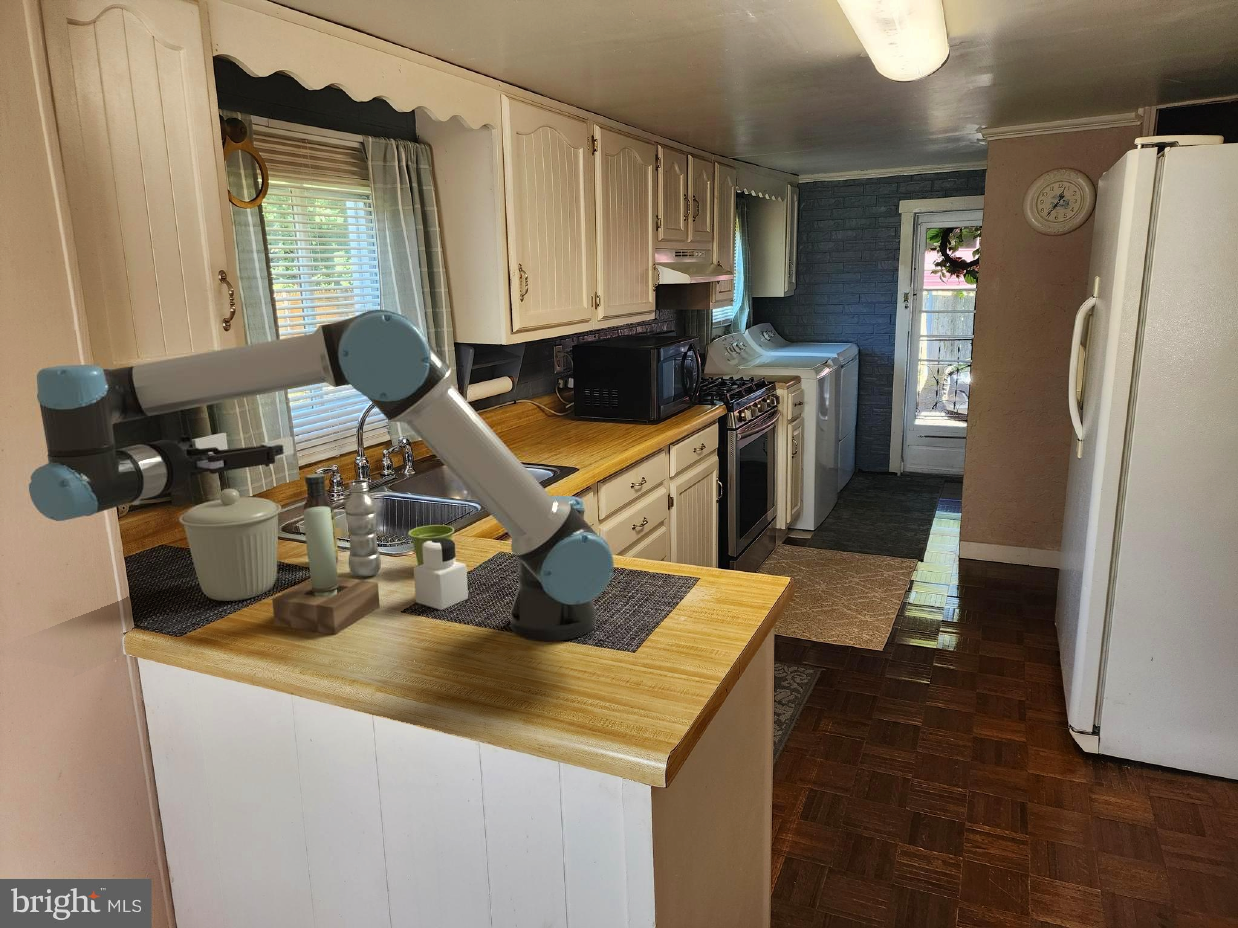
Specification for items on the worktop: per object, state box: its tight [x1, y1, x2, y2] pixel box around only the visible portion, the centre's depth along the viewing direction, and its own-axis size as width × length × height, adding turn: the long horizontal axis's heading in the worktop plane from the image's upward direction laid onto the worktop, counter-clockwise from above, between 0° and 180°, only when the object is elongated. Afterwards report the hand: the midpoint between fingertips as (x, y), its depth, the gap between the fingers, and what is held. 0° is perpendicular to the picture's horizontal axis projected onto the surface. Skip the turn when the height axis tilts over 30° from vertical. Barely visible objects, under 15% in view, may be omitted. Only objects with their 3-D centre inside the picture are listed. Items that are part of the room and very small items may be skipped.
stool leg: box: [302, 506, 339, 598], centre depth 153 cm, size 5×5×20 cm
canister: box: [179, 488, 282, 602], centre depth 166 cm, size 18×18×21 cm
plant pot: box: [407, 524, 455, 566], centre depth 178 cm, size 9×9×9 cm
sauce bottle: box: [302, 473, 339, 565], centre depth 182 cm, size 6×6×20 cm
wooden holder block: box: [271, 577, 381, 635], centre depth 155 cm, size 13×13×5 cm
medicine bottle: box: [413, 538, 469, 611], centre depth 161 cm, size 7×7×12 cm
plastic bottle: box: [343, 479, 382, 578], centre depth 175 cm, size 6×7×20 cm
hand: (257, 442), depth 140 cm, fingers open, 13 cm apart
